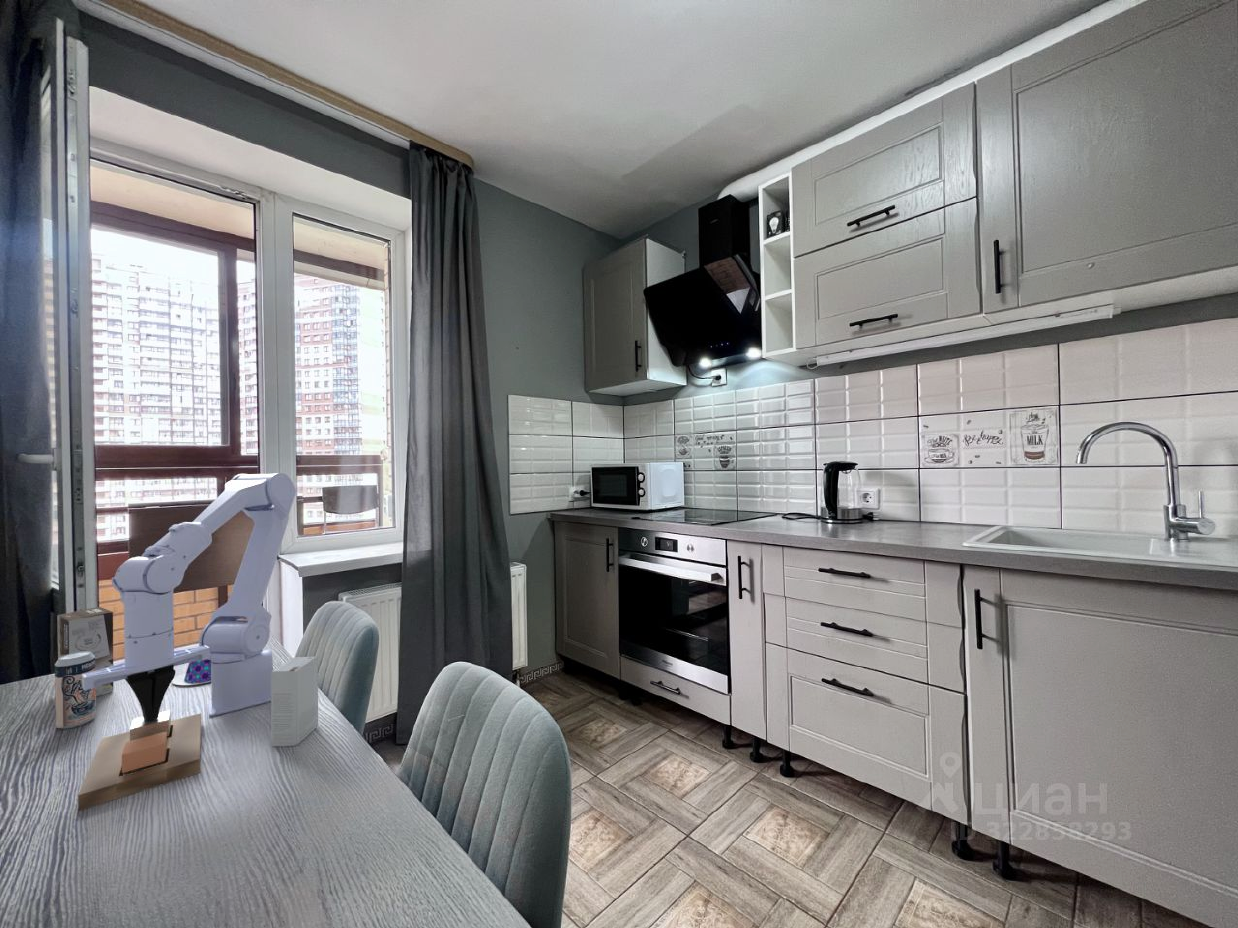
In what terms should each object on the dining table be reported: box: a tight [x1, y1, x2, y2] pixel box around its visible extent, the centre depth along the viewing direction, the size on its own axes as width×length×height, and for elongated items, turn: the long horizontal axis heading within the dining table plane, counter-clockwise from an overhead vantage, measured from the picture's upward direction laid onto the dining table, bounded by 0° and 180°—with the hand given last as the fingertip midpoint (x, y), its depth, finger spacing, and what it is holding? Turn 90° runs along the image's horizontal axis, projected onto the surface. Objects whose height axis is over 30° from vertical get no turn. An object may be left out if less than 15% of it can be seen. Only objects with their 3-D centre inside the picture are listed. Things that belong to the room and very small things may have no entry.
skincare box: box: [270, 656, 319, 747], centre depth 81 cm, size 6×4×12 cm
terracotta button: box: [122, 731, 167, 773], centre depth 71 cm, size 4×4×2 cm
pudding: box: [171, 659, 211, 686], centre depth 107 cm, size 12×12×5 cm
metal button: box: [129, 709, 172, 741], centre depth 78 cm, size 4×4×2 cm
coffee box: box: [56, 606, 114, 697], centre depth 99 cm, size 9×6×16 cm
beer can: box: [54, 651, 97, 730], centre depth 87 cm, size 5×5×12 cm
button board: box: [77, 712, 202, 812], centre depth 75 cm, size 12×18×2 cm, turn 40°
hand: (150, 718), depth 78 cm, fingers closed
